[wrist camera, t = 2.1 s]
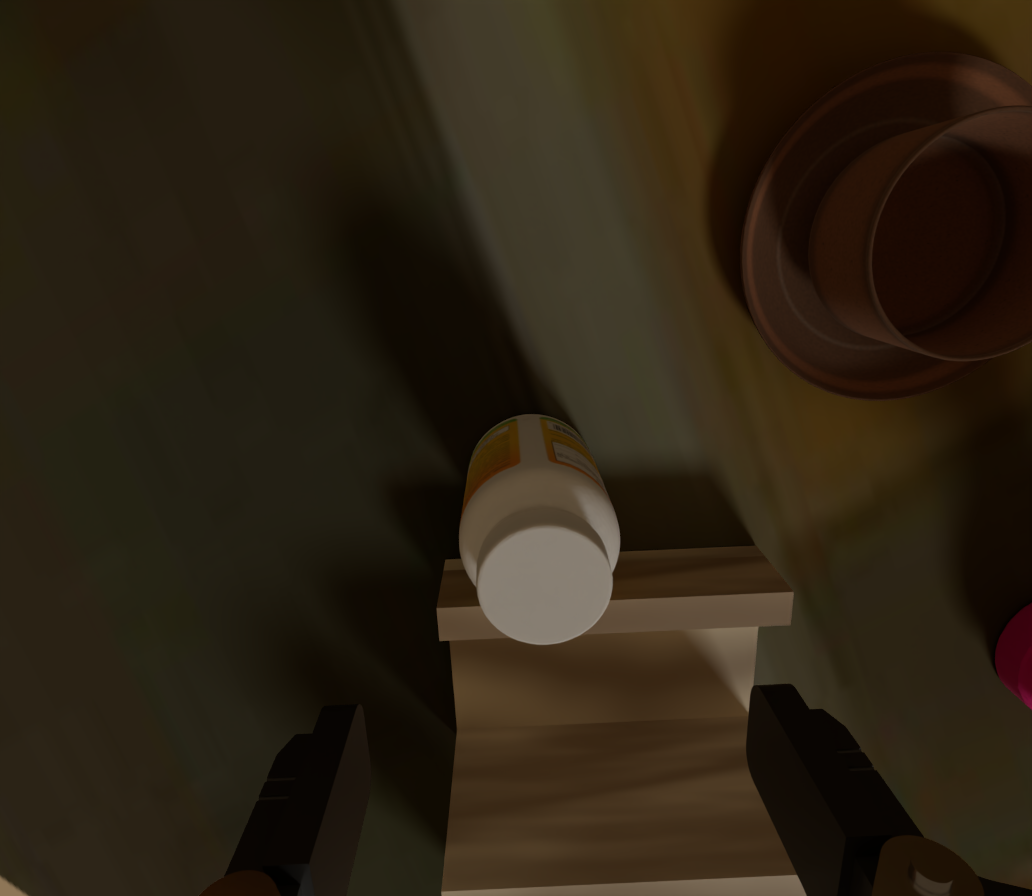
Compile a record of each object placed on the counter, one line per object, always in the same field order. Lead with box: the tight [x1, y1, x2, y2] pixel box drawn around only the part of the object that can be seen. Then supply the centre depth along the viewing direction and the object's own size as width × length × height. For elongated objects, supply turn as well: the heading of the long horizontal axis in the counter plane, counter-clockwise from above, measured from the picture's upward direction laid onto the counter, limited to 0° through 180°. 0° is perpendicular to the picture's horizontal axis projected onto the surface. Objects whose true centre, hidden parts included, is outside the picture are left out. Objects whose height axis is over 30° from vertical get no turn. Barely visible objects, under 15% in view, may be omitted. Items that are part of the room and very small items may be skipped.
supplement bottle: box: [459, 414, 620, 645], centre depth 23 cm, size 5×5×10 cm
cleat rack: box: [437, 546, 807, 896], centre depth 26 cm, size 10×14×9 cm
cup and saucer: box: [740, 52, 1032, 401], centre depth 22 cm, size 12×12×6 cm
